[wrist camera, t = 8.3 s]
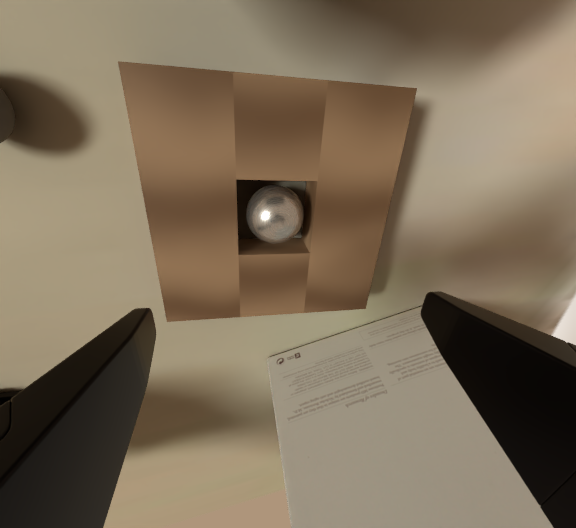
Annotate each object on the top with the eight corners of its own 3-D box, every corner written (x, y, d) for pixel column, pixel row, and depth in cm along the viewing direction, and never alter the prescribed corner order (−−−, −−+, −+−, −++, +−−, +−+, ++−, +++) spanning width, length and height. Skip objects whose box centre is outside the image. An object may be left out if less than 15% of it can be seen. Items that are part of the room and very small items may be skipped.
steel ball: (294, 230, 20) (307, 252, 17) (244, 231, 19) (248, 254, 16) (298, 179, 18) (313, 193, 15) (243, 178, 17) (248, 193, 14)
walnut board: (353, 290, 23) (365, 308, 21) (174, 299, 20) (167, 321, 18) (392, 91, 16) (416, 88, 14) (135, 69, 14) (118, 61, 12)
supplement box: (299, 432, 31) (366, 747, 16) (262, 355, 25) (315, 769, 9) (442, 382, 32) (647, 644, 16) (444, 292, 25) (796, 591, 9)
